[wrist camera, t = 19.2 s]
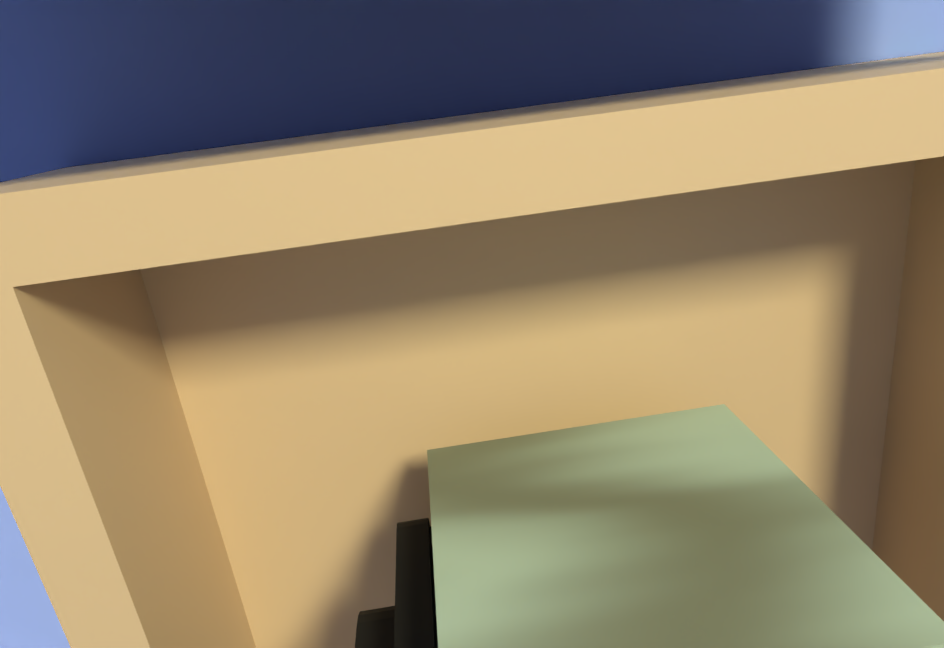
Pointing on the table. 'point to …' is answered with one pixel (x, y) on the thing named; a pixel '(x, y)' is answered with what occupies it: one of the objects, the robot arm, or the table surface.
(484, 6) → the table surface
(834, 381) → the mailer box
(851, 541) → the green block
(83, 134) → the table surface
